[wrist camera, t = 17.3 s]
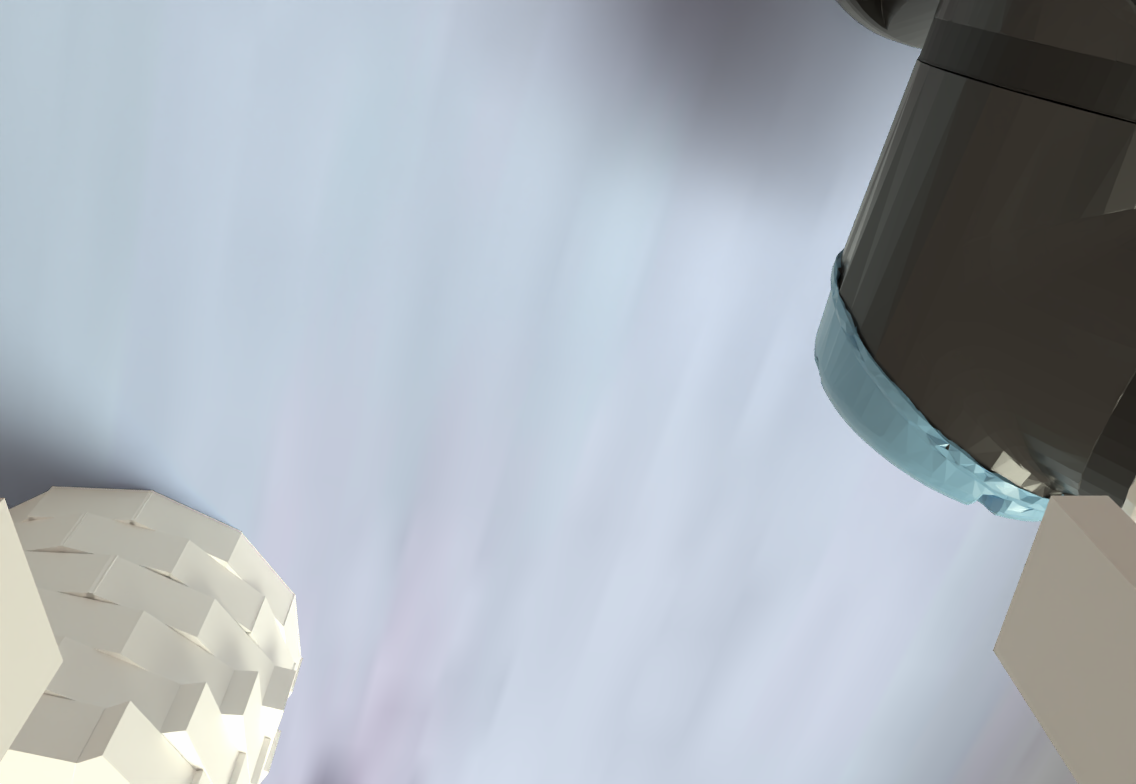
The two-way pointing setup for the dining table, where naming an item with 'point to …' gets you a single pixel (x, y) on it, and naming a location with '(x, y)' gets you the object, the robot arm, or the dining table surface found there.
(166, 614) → the basket
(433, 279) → the dining table surface
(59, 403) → the dining table surface
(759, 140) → the dining table surface
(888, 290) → the robot arm
